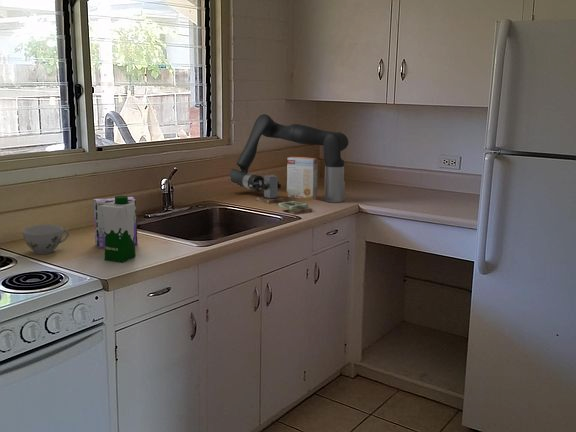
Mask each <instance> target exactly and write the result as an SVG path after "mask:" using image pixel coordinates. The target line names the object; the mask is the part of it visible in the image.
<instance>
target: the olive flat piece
mask: <svg viewBox="0 0 576 432" xmlns="http://www.w3.org/2000/svg"><path fill="white" fill-rule="evenodd" d="M255 201H257V202H260V203H263V204H266V205H267V204H268V205H271V206H275V207H278V208H281V209H284V210H281V212H284V213H288V214H291V215H299V214H305V213H311V212H313V211H312V207H309V204H308V203H304V202H300V201H297V200H294V201H293V200H291V201H286V199H285V197H281V196H278V198H277V199H271V200H269V199H265V198H264V195H263V196H257V197H256V199H255Z"/></svg>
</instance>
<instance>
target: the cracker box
mask: <svg viewBox="0 0 576 432" xmlns="http://www.w3.org/2000/svg"><path fill="white" fill-rule="evenodd" d="M318 160H319V158H318V157H305V156H289V157H287V161H286V162H287V166H286V167H287V169H286V170H287V171H286V197H287V198H298V199H307V200H316V201H317V199H318V172H319V171H318V170H319V169H318V166H319V165H318V162H319V161H318Z"/></svg>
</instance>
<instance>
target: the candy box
mask: <svg viewBox="0 0 576 432" xmlns="http://www.w3.org/2000/svg"><path fill="white" fill-rule="evenodd" d="M127 197H128V202H129V203H135V206H134V216H133V220H134V244H135V246H136V245H138V225H137V224H138V223H137V221H138V220H137V199H135V198H134V196H127ZM111 202H115V197H111V198H93V216H94V217H93V220H94V222H93V223H94V239H95V240H94V244H95V245H96V248H97V249H102V248H104V249H105V234H104V218H103V214H102V210H101V207H100V206H102V205H105V204H107V203H111Z"/></svg>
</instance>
